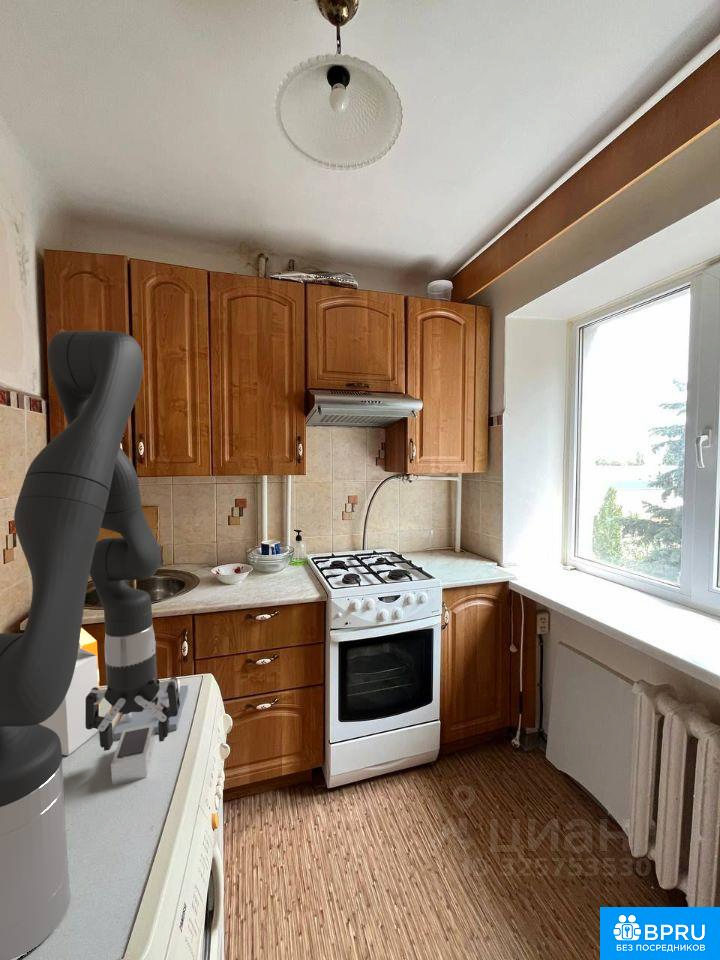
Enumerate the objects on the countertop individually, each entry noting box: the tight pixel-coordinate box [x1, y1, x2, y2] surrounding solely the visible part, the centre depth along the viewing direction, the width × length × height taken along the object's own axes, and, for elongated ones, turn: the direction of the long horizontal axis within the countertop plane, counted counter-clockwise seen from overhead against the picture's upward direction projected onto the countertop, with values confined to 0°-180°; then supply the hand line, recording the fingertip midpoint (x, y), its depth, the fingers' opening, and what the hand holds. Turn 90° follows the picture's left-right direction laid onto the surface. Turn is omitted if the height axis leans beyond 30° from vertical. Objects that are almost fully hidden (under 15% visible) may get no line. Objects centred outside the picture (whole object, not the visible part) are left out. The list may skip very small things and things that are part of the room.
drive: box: [110, 723, 156, 786], centre depth 72 cm, size 9×5×4 cm, turn 19°
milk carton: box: [39, 643, 101, 756], centre depth 77 cm, size 7×7×19 cm
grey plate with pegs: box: [113, 679, 189, 741], centre depth 85 cm, size 14×11×4 cm
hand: (136, 742), depth 72 cm, fingers open, 8 cm apart
